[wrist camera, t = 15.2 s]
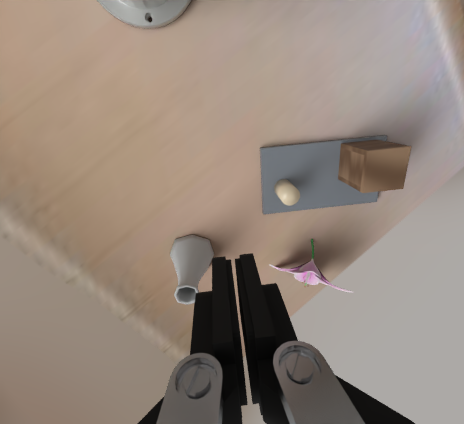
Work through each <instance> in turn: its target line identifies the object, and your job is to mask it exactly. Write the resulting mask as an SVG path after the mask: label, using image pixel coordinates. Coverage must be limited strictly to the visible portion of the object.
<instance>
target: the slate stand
mask: <svg viewBox="0 0 464 424" xmlns="http://www.w3.org/2000/svg"><path fill="white" fill-rule="evenodd" d="M368 140H381V141H386V140H387V136H385V135H381V136H371V137H361V138H351V139H341V140H331V141H321V142H311V143H302V144H292V145H282V146H272V147H262V148H260V158H261V183H262V207H263V214H271V213H280V212H289V211H298V210H307V209H316V208H325V207H334V206H343V205H352V204H361V203H370V202H377V198H378V192H379V191H378V192H369V193H361V192H360V191H358V190H356V189H354V188H353V187H351V186H349V185H347V184H346V183H344V182H342V181H340V180H339V179H338V172H339V160H340V148H341V143H349V142H359V141H368Z"/></svg>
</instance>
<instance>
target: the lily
mask: <svg viewBox="0 0 464 424" xmlns="http://www.w3.org/2000/svg"><path fill="white" fill-rule="evenodd" d="M311 244H312V259H311V261H310V262H308V263H306V264H303V265H301V266H298V267H295V268H292V269H283V268H278V267H275V266H273V265H270V264H269V265H270V266H272V267H273V268H275V269H277V270H280V271H286V272H289V273H293V274H294V277H295V278H296V279H297V280H299V281H301V282H303V283H304V282H305V283H307V284H308V285H309V284H311V285H317V284H318V283H319V282H320V283H323V284H326V285H329V286H331V287H333V288H335V289H338V290H341V291H345V292H352V291H349V290H345V289H342V288H338V287H336V286H334V285H332V284H331V283H329V282H328V281H327V280H326V278H325V277H324V276H323V275H322V273H321V272H320V271H319V269H318V268H317V266H316V265H315V264H314V261H313V259H314V245H313V239H311ZM305 286H306V284H305ZM305 286H304V287H305Z"/></svg>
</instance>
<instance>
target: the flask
mask: <svg viewBox="0 0 464 424" xmlns="http://www.w3.org/2000/svg"><path fill="white" fill-rule="evenodd" d="M170 256H171V258H172V261H173V264H174V266H175V269H176V272H177V276H178V286H177V289H176V291H175V294H174V296H175V298H176V300H177V302H178V303H182V304H186V305H188V304H191V303H195V295H196V293H199V291H198V283H199V281H200V279H201V278H202V276H203V275H204V273H205V272H206V271H207V269H208V268H209V265H210V263H211V261H212V258H213V256H214V252H213V249H212V246H211V243H210V241H209V240H208V239H205V238H202V237H199V236H195V235H189V236H185V237H181V238H178V239H175V241H174V244H173V246H172V249H171V252H170Z"/></svg>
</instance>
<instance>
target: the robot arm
mask: <svg viewBox="0 0 464 424" xmlns="http://www.w3.org/2000/svg"><path fill="white" fill-rule="evenodd" d="M97 1H98V2H99V3H100V4H101V5H102V6H103V7H104V8H105V9H106V10H107V11H108V12H109V13H110V14H111V15H113V16H114V17H116V18H117V19H119V20H120V21H122V22H124V23H126V24H128V25H131V26H133V27H138V28H143V29H153V28H158V27H162V26H165V25H167V24H169V23H171V22H173V21H174V20H176V19H177V18H178V17H179V16H180V15H181V14H182V13H183V12H184V11H185V9H186V8H187V7H188V5H189V4H190V2H191V0H97ZM149 18H152V22H149V21H148V19H149ZM235 265H236V276H237V286H238V296H239V306H240V315H241V323H242V330H243V337H244V344H245V352H246V359H247V365H248V373H249V380H250V388H251V395H252V402H253V404H256V403H259V406H260V412H261V415H263V420H264V422H265V423H267V424H415V423H414V422H412V421H411V420H409V419H408V418H406V417H404V416H403V415H401V414H399V413H397V412H396V411H394V410H392V409H391V408H389V407H388V406H386V405H384V404H382V403H381V402H379V401H377V400H376V399H374V398H372V397H371V396H369V395H367V394H366V393H364V392H362V391H361V390H359V389H358V388H356V387H354V386H353V385H351V384H349V383H348V382H346V381H344V380H343V379H341V378H339V377H338V376H336V375H335V374H334V373H333V371H332V370H331V368H330V366H329V365H328V363H327V362H326V360H325V358H324V357H323V355H322V354H321V353H320V352H319V351H318V350H317V349H316V348H315V347H313V346H312V345H310V344H308V343H305V342H302V341H298V340H297V337H296V334H295V331H294V329H293V326H292V323H291V321H290V318H289V315H288V312H287V310H286V307H285V304H284V302H283V299H282V296H281V293H280V291H279V288H278V286H277V284H276V283H274V284H266V285H261V281H260V277H259V274H258V270H257V267H256V263H255V260H254V256H253V253H252V254H243V255H240V258H239V259H235ZM242 405H247V396H246V386H245V376H244V366H243V356H242V346H241V337H240V329H239V321H238V313H237V305H236V297H235V289H234V281H233V273H232V265H231V260H226V258H225V257H217V258H212V291H208V292H200V293H196V295H195V305H194V316H193V328H192V339H191V351H190V356H187V357H185V358H184V359H183V360H181V361H180V362H179V363H178V364H177V366H176V367H175V368H174V370H173V372H172V375H171V376H170V380H169V383H168V386H167V390H166V393H165V396H164V397H163V398H162V399H161V400H160V401H159V402H158V403H157V404H156V405H155V406H154V407H153V409H151V411H150V412H149V413H148V414H147V415H146V416H145V417H144V418H143V419H142V420H141V421H140V422H139V423H138V424H242V412H241V406H242Z"/></svg>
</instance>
